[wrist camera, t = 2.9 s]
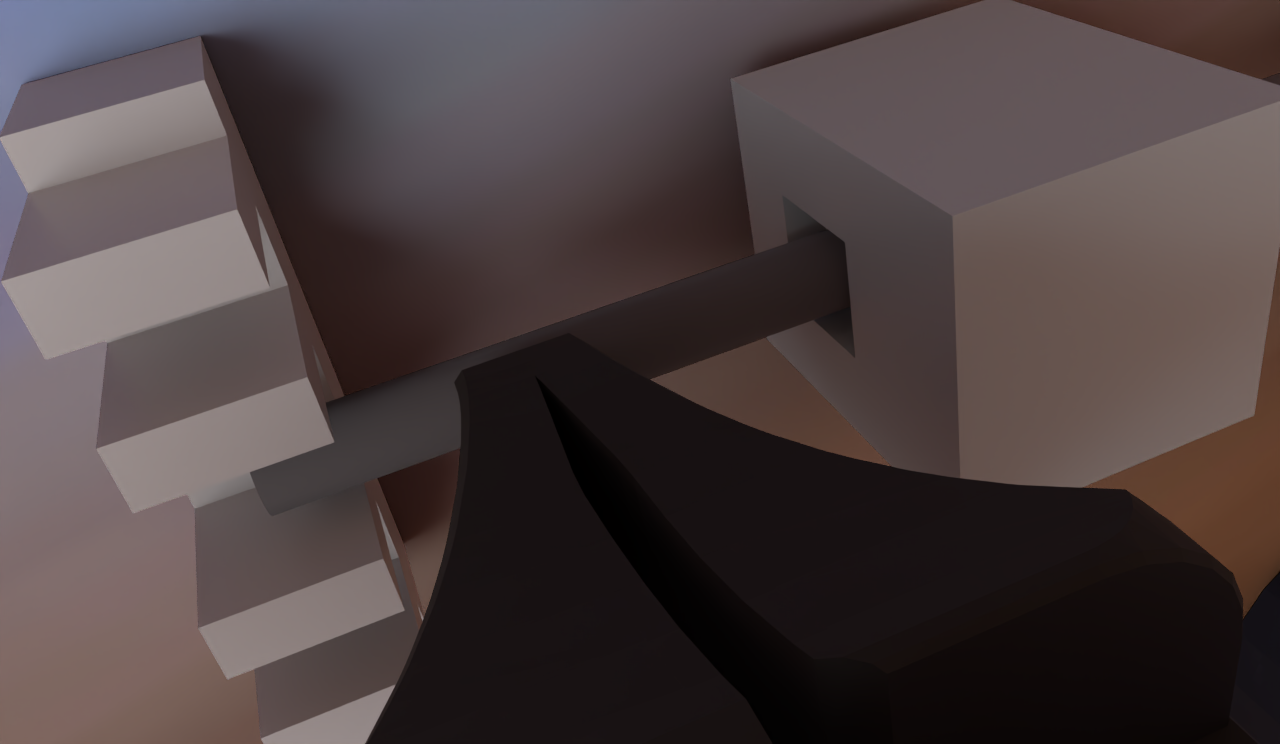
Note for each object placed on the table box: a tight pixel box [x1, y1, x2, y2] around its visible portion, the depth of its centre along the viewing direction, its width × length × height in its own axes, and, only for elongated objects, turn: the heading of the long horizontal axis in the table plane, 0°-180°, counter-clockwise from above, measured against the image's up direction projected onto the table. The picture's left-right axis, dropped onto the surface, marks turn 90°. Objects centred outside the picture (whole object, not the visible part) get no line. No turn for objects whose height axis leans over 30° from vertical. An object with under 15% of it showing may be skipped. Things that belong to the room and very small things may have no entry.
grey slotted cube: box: [730, 0, 1280, 488], centre depth 14 cm, size 4×4×5 cm
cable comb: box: [0, 36, 424, 744], centre depth 13 cm, size 2×8×4 cm, turn 11°
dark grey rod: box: [250, 73, 1280, 516], centre depth 14 cm, size 21×4×4 cm, turn 100°
